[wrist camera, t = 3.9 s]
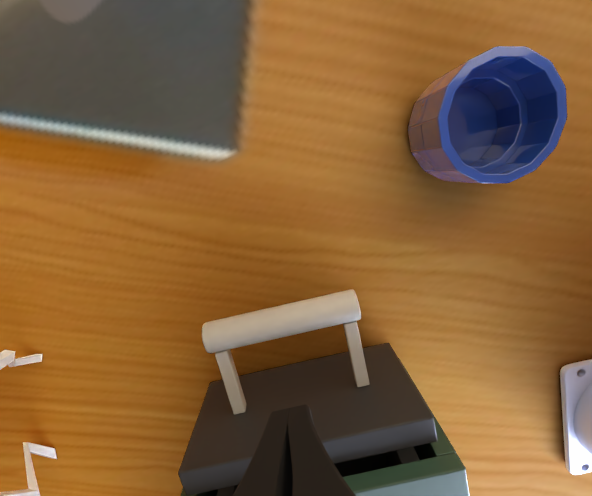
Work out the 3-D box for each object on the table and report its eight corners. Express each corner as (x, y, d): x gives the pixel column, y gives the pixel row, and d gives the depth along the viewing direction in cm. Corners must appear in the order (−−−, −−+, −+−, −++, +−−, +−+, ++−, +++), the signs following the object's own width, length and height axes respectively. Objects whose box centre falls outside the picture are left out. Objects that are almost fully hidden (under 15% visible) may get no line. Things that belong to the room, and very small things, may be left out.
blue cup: (499, 62, 17) (564, 29, 13) (508, 169, 18) (569, 168, 14) (397, 86, 17) (430, 62, 13) (412, 191, 18) (447, 197, 14)
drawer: (185, 306, 18) (138, 370, 12) (374, 263, 18) (417, 307, 12) (263, 547, 22) (255, 682, 16) (420, 513, 22) (469, 638, 16)
